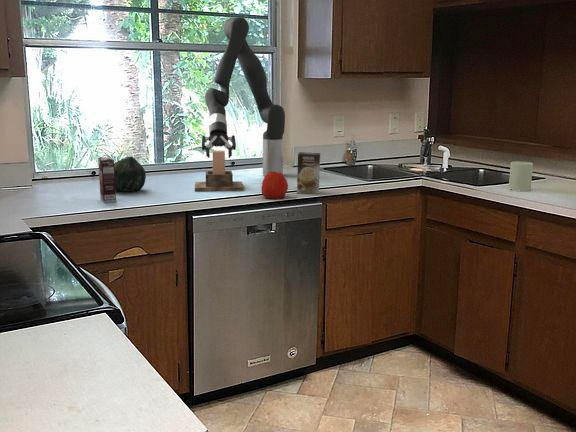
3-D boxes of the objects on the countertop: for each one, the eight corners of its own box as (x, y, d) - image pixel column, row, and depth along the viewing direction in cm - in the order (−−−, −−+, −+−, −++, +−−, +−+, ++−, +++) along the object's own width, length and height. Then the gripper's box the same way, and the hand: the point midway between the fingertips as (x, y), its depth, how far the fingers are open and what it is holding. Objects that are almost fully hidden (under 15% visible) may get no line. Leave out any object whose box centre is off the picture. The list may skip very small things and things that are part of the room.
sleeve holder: (241, 184, 277) (241, 169, 275) (243, 191, 262) (243, 175, 261) (195, 185, 274) (195, 170, 273) (194, 191, 260) (194, 175, 258)
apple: (291, 196, 252) (291, 170, 250) (280, 201, 243) (280, 173, 241) (268, 194, 256) (268, 168, 254) (256, 198, 247) (256, 171, 245)
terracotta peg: (224, 183, 271) (224, 150, 268) (225, 185, 266) (224, 151, 263) (212, 183, 270) (212, 150, 267) (213, 185, 265) (212, 152, 262)
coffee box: (296, 193, 259) (296, 153, 255) (297, 190, 265) (298, 152, 261) (318, 194, 258) (319, 154, 254) (319, 191, 264) (320, 152, 260)
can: (530, 188, 277) (533, 161, 274) (531, 192, 268) (533, 163, 265) (508, 187, 280) (510, 159, 277) (508, 190, 271) (510, 162, 268)
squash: (104, 174, 264) (108, 150, 253) (141, 174, 270) (146, 150, 259) (108, 202, 257) (112, 178, 246) (146, 201, 263) (151, 177, 252)
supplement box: (99, 198, 243) (97, 157, 239) (112, 198, 245) (110, 156, 241) (103, 203, 235) (101, 160, 231) (116, 202, 237) (114, 159, 233)
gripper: (201, 120, 269) (201, 151, 261) (234, 120, 271) (236, 150, 263) (201, 132, 276) (202, 162, 267) (234, 132, 277) (236, 162, 269)
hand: (219, 156), depth 265 cm, fingers open, 8 cm apart
